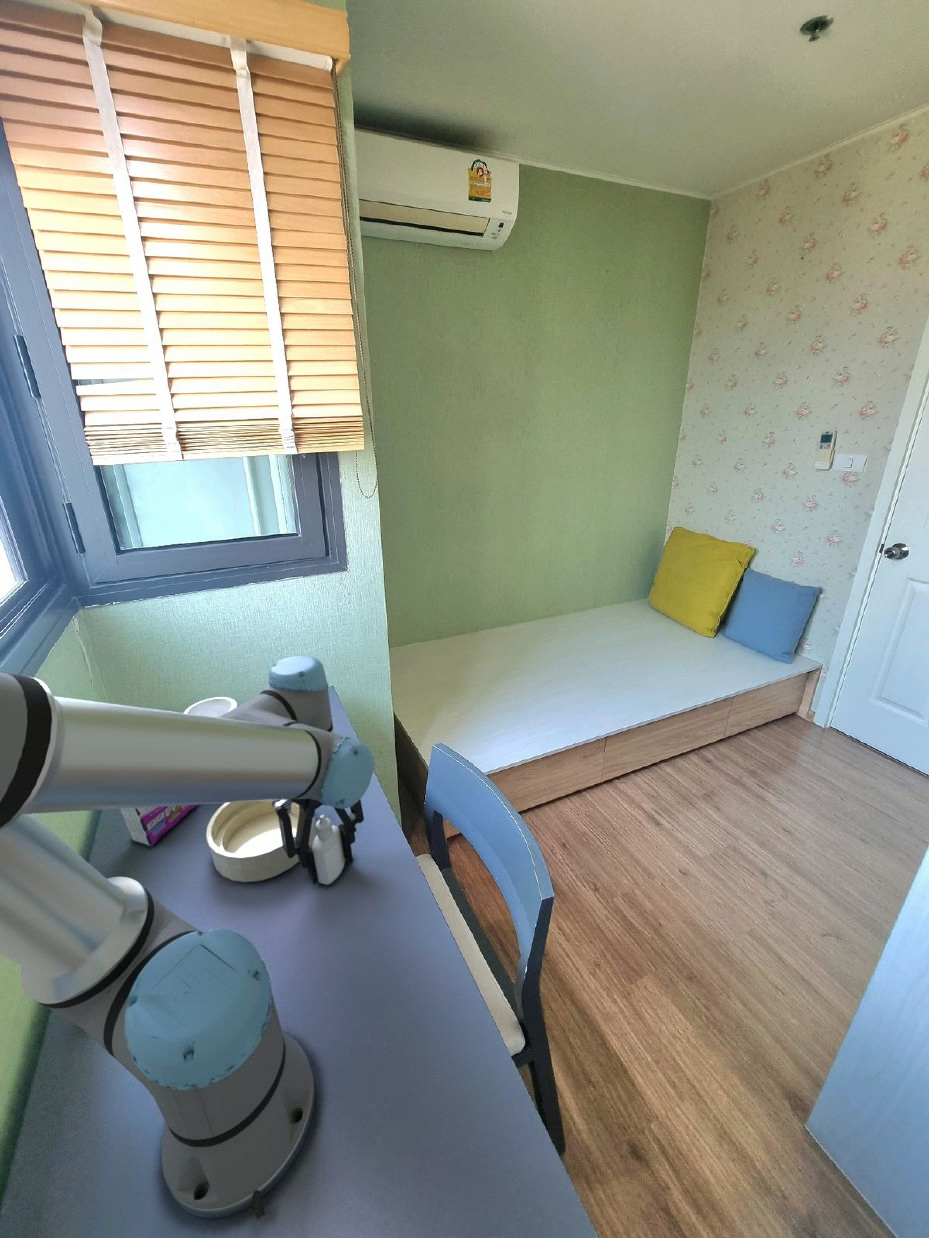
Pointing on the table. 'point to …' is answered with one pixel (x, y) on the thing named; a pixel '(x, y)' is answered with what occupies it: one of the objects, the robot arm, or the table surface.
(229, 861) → the bowl
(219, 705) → the jar
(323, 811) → the table surface
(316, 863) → the eye dropper bottle
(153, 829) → the candy bar box
